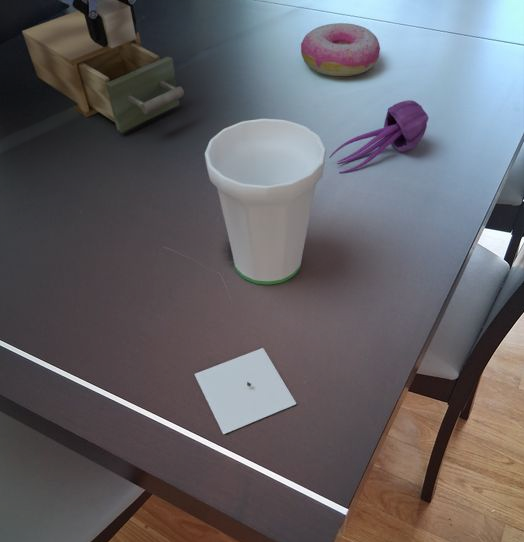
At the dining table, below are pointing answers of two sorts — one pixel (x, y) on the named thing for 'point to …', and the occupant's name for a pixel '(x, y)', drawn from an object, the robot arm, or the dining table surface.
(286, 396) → the coaster
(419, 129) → the jellyfish
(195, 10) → the dining table surface
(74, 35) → the cabinet
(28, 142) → the dining table surface
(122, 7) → the block
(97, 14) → the robot arm
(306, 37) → the donut
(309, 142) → the cup
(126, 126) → the drawer
